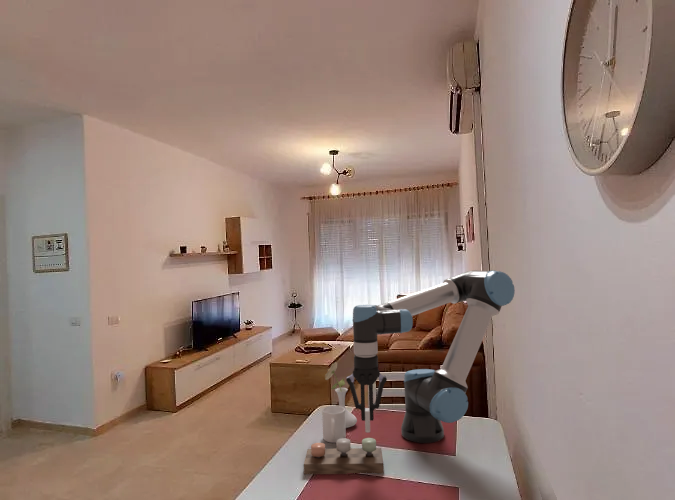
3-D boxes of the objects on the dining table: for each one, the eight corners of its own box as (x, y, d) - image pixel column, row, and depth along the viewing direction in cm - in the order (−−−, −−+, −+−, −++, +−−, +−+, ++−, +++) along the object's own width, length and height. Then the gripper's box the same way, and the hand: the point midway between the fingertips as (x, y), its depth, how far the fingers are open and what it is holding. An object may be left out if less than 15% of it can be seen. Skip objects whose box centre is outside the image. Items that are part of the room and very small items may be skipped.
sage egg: (376, 451, 129) (375, 437, 129) (376, 457, 125) (376, 443, 125) (362, 451, 129) (361, 437, 129) (362, 457, 125) (362, 444, 125)
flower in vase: (343, 417, 167) (341, 356, 167) (363, 424, 158) (360, 360, 159) (318, 426, 158) (316, 362, 159) (338, 435, 150) (336, 366, 150)
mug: (345, 448, 139) (344, 417, 139) (321, 448, 139) (320, 418, 140) (346, 433, 151) (345, 405, 151) (324, 433, 151) (323, 405, 152)
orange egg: (325, 455, 130) (325, 442, 130) (325, 462, 125) (324, 448, 125) (312, 456, 130) (311, 442, 130) (310, 462, 125) (310, 449, 125)
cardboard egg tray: (381, 457, 132) (381, 447, 132) (383, 473, 122) (383, 463, 122) (307, 458, 133) (307, 449, 133) (304, 474, 123) (303, 464, 123)
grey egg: (350, 451, 129) (350, 438, 129) (350, 458, 125) (350, 444, 125) (337, 451, 129) (336, 438, 130) (336, 458, 125) (336, 444, 125)
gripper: (385, 351, 131) (387, 425, 130) (345, 352, 132) (347, 426, 131) (387, 357, 124) (389, 435, 123) (344, 357, 124) (346, 435, 124)
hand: (367, 430), depth 127 cm, fingers closed
